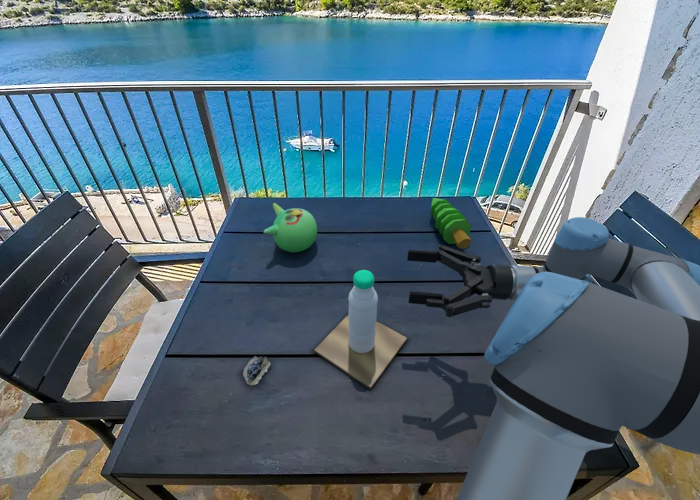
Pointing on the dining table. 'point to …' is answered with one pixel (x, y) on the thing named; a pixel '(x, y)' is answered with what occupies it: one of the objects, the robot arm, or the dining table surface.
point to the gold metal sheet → (361, 364)
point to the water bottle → (362, 312)
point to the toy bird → (293, 229)
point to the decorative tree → (451, 223)
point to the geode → (255, 369)
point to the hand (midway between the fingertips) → (408, 274)
